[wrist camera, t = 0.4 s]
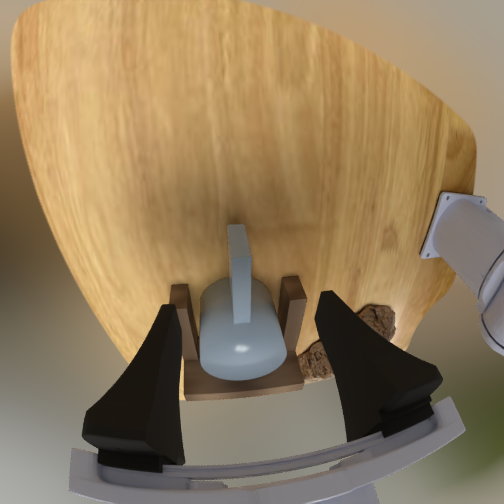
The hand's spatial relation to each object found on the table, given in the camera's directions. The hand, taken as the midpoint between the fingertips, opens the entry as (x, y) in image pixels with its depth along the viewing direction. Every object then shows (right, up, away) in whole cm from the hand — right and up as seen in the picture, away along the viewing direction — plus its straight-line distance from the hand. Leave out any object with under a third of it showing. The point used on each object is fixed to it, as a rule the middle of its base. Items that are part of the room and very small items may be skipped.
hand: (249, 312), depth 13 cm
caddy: (-1, -3, +14) cm, 14 cm away
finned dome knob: (-1, 0, +11) cm, 11 cm away
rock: (+12, -9, +21) cm, 26 cm away
